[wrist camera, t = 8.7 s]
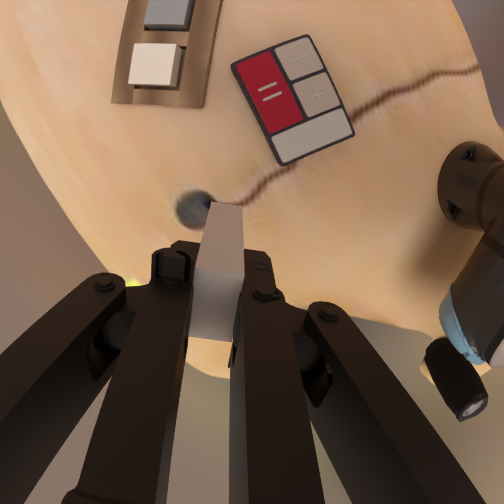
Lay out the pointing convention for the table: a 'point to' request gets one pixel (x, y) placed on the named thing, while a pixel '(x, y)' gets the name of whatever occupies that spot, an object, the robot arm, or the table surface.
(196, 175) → the table surface
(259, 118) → the calculator
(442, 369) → the portable speaker
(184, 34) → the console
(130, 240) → the table surface
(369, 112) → the table surface
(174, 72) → the white key
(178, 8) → the grey key
